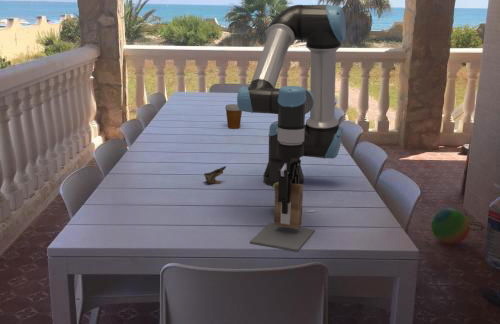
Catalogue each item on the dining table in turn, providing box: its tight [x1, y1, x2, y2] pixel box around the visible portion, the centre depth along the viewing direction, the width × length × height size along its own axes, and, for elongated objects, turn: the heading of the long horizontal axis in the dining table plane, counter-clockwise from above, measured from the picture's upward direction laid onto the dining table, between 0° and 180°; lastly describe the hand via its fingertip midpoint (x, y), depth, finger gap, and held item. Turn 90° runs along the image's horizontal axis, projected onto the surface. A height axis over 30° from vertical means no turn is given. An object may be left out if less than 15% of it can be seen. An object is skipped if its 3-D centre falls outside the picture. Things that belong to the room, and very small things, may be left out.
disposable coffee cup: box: [224, 103, 243, 130], centre depth 316 cm, size 10×10×12 cm
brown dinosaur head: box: [203, 166, 227, 184], centre depth 219 cm, size 8×6×7 cm
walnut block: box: [273, 183, 304, 229], centre depth 170 cm, size 4×7×12 cm, turn 68°
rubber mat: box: [249, 222, 316, 252], centre depth 169 cm, size 16×14×1 cm
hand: (287, 220), depth 172 cm, fingers closed on walnut block, 4 cm apart
